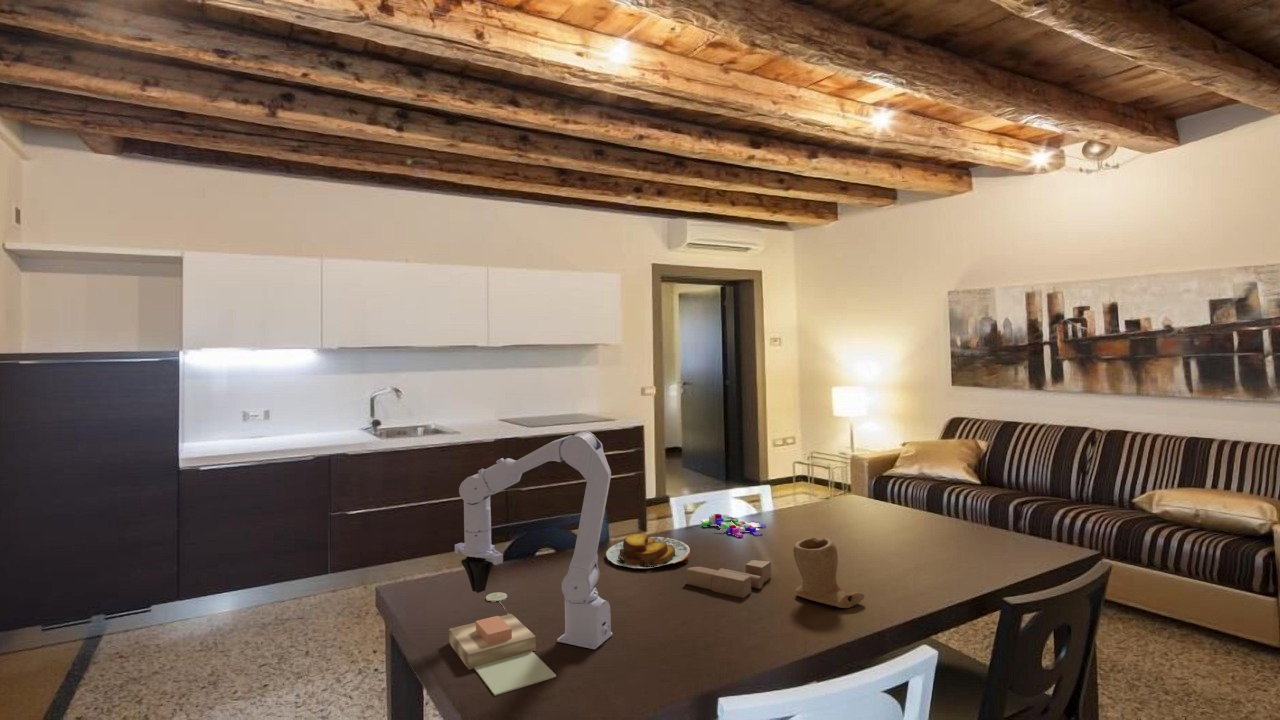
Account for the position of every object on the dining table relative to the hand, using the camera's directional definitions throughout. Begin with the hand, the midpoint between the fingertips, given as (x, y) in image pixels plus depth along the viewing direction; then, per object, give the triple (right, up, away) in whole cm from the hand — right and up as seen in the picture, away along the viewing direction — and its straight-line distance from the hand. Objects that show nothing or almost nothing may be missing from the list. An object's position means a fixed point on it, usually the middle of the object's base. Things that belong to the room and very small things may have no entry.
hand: (478, 590), depth 138 cm
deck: (+4, -9, -7) cm, 12 cm away
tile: (+5, -6, -8) cm, 11 cm away
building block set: (+69, -9, +83) cm, 108 cm away
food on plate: (+38, -9, +50) cm, 64 cm away
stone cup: (+81, -8, +14) cm, 82 cm away
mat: (+11, -9, -18) cm, 23 cm away
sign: (+1, -10, +16) cm, 19 cm away
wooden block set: (+60, -9, +29) cm, 67 cm away
